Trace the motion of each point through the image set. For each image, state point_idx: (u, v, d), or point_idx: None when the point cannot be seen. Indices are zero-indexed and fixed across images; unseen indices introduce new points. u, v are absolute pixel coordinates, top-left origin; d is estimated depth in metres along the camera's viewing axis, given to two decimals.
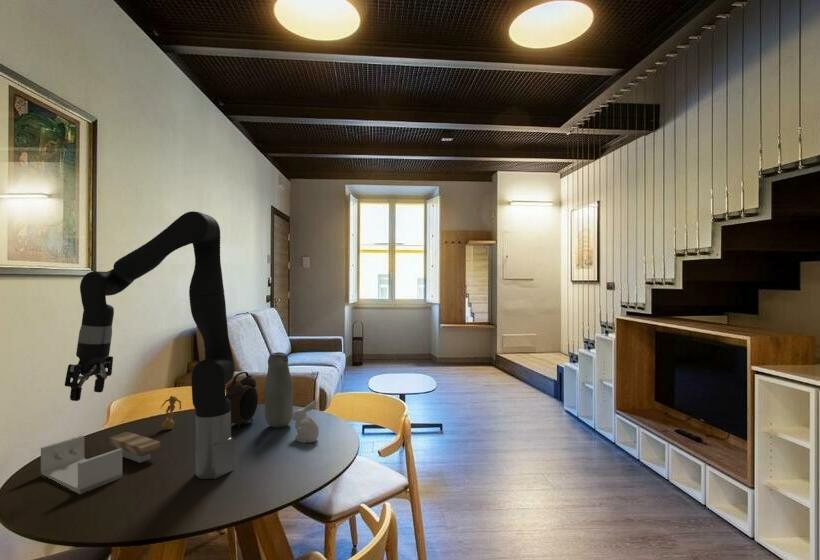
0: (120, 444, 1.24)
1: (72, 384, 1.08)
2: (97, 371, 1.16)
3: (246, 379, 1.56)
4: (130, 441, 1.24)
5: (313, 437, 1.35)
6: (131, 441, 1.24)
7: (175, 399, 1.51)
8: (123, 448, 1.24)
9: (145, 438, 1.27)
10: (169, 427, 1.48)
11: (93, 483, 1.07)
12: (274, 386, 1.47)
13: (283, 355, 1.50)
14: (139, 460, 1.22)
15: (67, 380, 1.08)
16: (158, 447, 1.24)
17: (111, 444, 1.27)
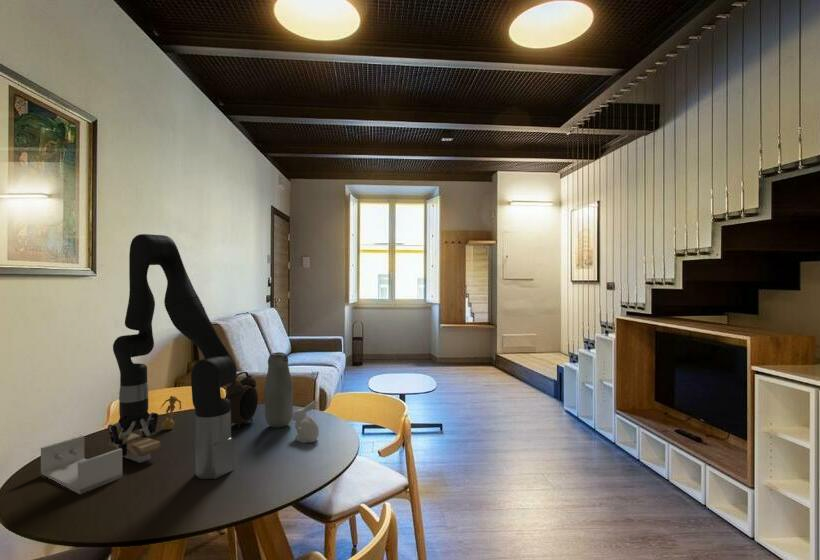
0: None
1: (114, 441, 1.20)
2: (138, 426, 1.26)
3: (246, 379, 1.56)
4: (130, 441, 1.24)
5: (313, 437, 1.35)
6: (131, 441, 1.24)
7: (175, 399, 1.51)
8: None
9: (145, 438, 1.27)
10: (169, 427, 1.48)
11: (93, 483, 1.07)
12: (274, 386, 1.47)
13: (283, 355, 1.50)
14: (139, 460, 1.22)
15: (111, 438, 1.21)
16: (158, 447, 1.24)
17: (111, 444, 1.27)
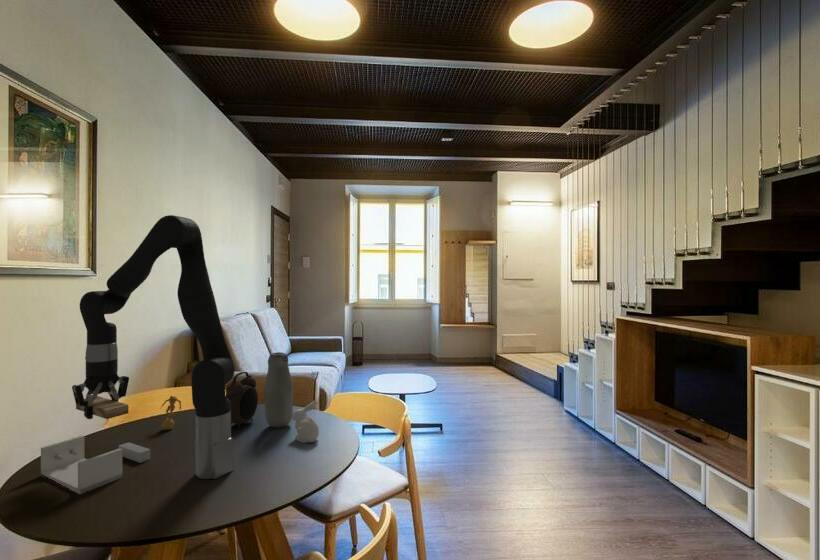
0: None
1: (79, 403, 1.13)
2: (106, 389, 1.18)
3: (246, 379, 1.56)
4: (97, 404, 1.17)
5: (313, 437, 1.35)
6: (97, 404, 1.17)
7: (175, 399, 1.51)
8: None
9: (113, 401, 1.19)
10: (169, 427, 1.48)
11: (93, 483, 1.07)
12: (274, 386, 1.47)
13: (283, 355, 1.50)
14: (139, 460, 1.22)
15: (75, 400, 1.13)
16: (126, 410, 1.16)
17: (78, 407, 1.20)
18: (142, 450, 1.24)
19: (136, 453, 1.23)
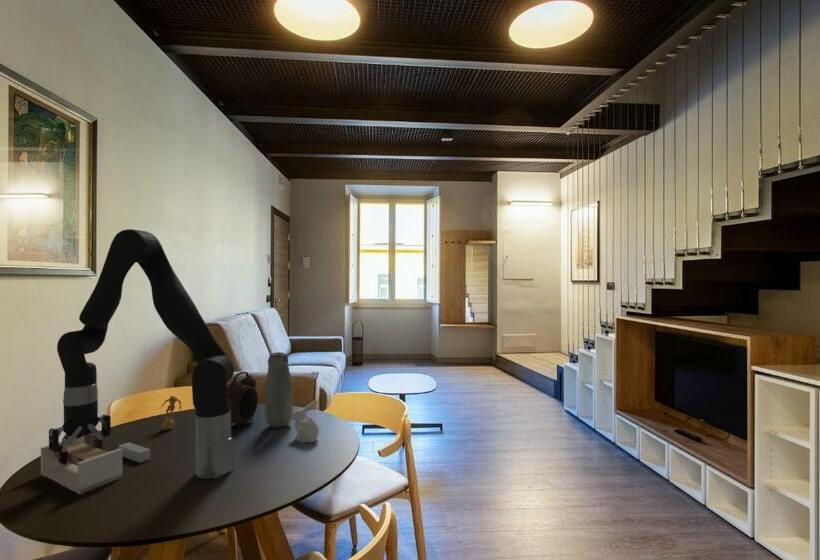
0: None
1: (52, 449, 1.07)
2: (87, 432, 1.14)
3: (246, 379, 1.56)
4: (76, 452, 1.12)
5: (313, 437, 1.35)
6: (77, 452, 1.12)
7: (175, 399, 1.51)
8: (68, 460, 1.11)
9: (94, 448, 1.14)
10: (169, 427, 1.48)
11: (93, 483, 1.07)
12: (274, 386, 1.47)
13: (283, 355, 1.50)
14: (139, 460, 1.22)
15: (50, 445, 1.08)
16: None
17: (56, 455, 1.15)
18: (142, 450, 1.24)
19: (136, 453, 1.23)
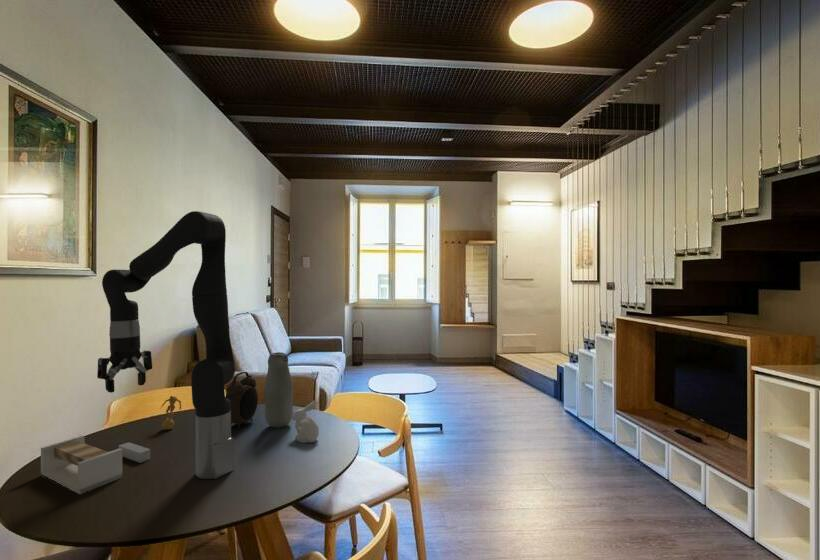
0: (66, 455, 1.12)
1: (101, 376, 1.15)
2: (132, 364, 1.22)
3: (246, 379, 1.56)
4: (76, 452, 1.12)
5: (313, 437, 1.35)
6: (77, 452, 1.12)
7: (175, 399, 1.51)
8: (68, 460, 1.11)
9: (94, 448, 1.14)
10: (169, 427, 1.48)
11: (93, 483, 1.07)
12: (274, 386, 1.47)
13: (283, 355, 1.50)
14: (139, 460, 1.22)
15: (98, 372, 1.16)
16: None
17: (56, 455, 1.15)
18: (142, 450, 1.24)
19: (136, 453, 1.23)
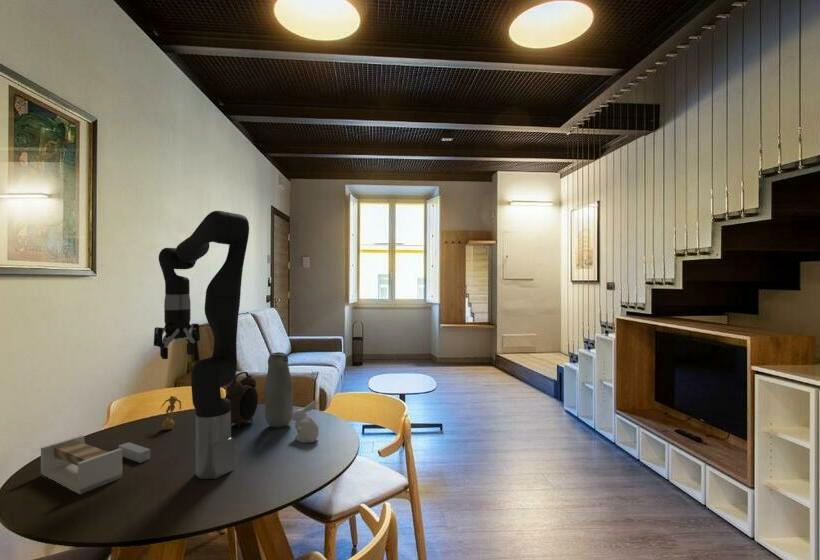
0: (66, 455, 1.12)
1: (157, 343, 1.27)
2: (183, 335, 1.34)
3: (246, 379, 1.56)
4: (76, 452, 1.12)
5: (313, 437, 1.35)
6: (77, 452, 1.12)
7: (175, 399, 1.51)
8: (68, 460, 1.11)
9: (94, 448, 1.14)
10: (169, 427, 1.48)
11: (93, 483, 1.07)
12: (274, 386, 1.47)
13: (283, 355, 1.50)
14: (139, 460, 1.22)
15: (154, 340, 1.27)
16: None
17: (56, 455, 1.15)
18: (142, 450, 1.24)
19: (136, 453, 1.23)
